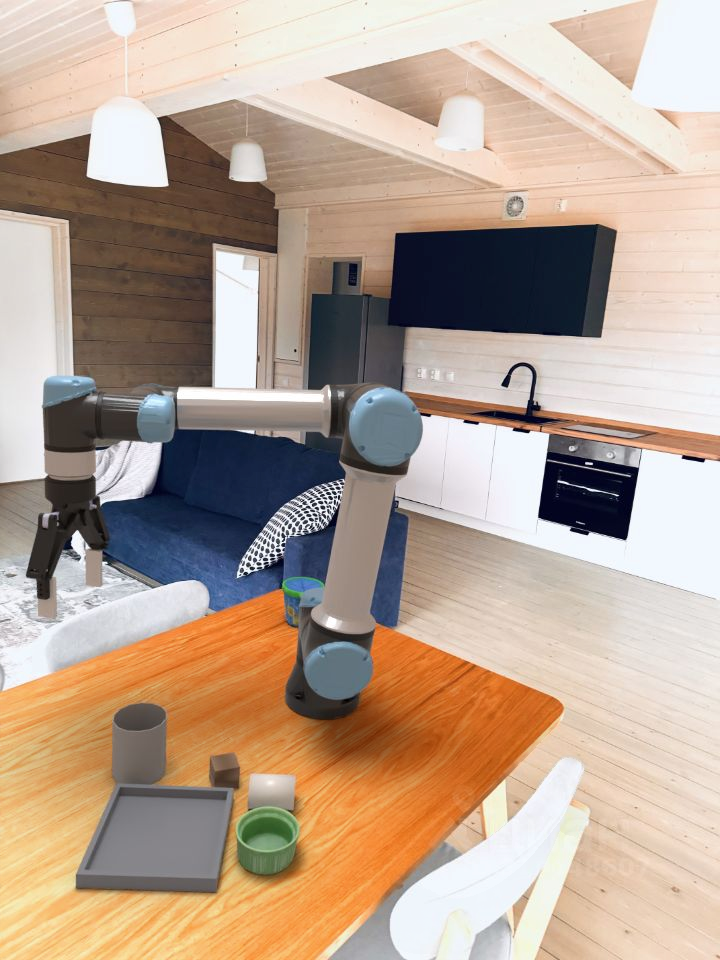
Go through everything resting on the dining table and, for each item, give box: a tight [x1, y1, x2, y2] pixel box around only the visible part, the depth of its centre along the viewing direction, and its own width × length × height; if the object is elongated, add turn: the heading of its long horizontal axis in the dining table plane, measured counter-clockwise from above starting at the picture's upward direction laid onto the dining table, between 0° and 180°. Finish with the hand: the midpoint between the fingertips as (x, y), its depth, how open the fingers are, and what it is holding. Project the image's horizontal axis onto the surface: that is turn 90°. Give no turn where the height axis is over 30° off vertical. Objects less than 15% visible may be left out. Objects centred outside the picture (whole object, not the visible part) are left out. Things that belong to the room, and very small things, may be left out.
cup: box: [111, 702, 168, 785], centre depth 112 cm, size 8×8×10 cm
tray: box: [75, 782, 235, 893], centre depth 98 cm, size 18×18×2 cm
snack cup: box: [281, 576, 325, 628], centre depth 173 cm, size 16×10×10 cm
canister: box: [247, 772, 297, 811], centre depth 107 cm, size 7×5×5 cm
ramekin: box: [234, 806, 301, 876], centre depth 97 cm, size 9×9×4 cm
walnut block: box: [208, 751, 241, 790], centre depth 111 cm, size 4×4×4 cm
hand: (72, 600), depth 114 cm, fingers open, 13 cm apart
